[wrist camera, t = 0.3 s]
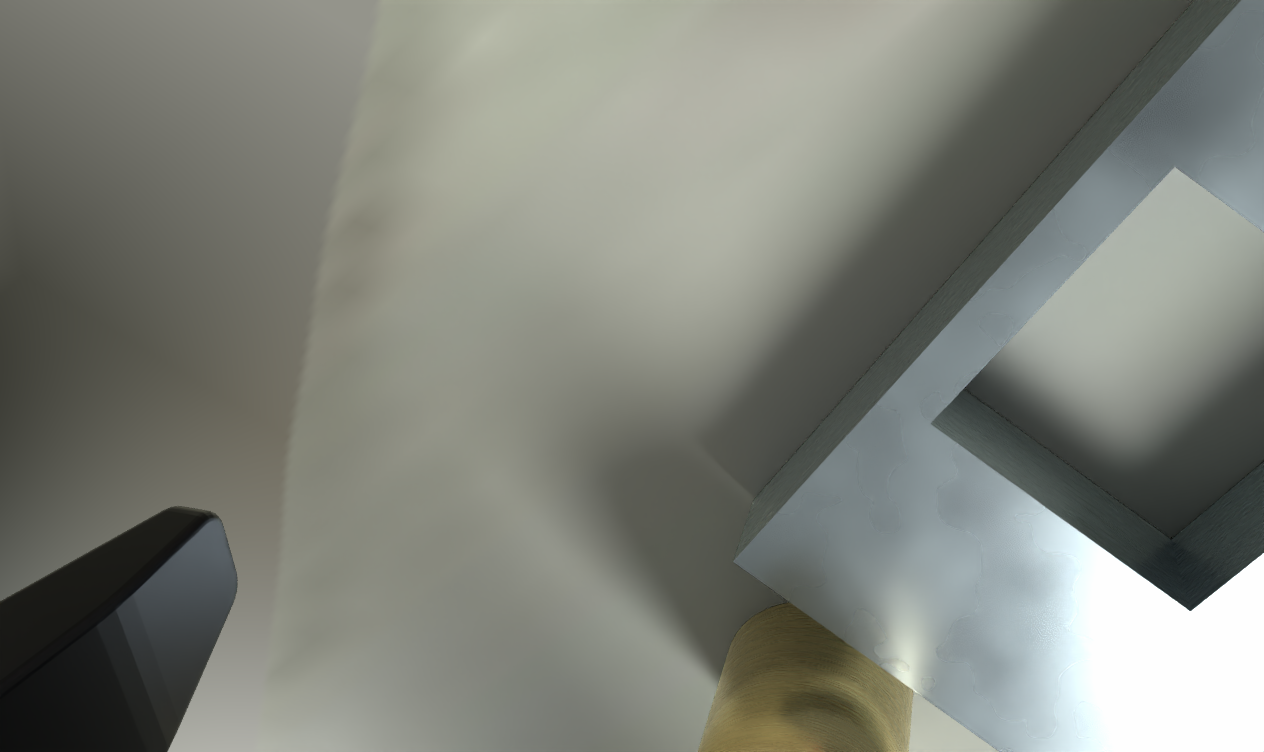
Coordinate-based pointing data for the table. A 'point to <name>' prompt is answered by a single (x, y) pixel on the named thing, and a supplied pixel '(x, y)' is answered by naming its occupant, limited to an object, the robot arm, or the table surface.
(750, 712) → the cylinder
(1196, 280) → the table surface
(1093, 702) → the jig plate
